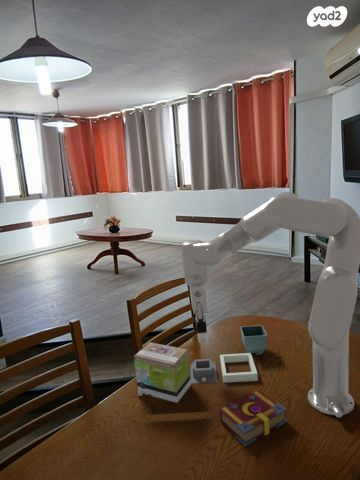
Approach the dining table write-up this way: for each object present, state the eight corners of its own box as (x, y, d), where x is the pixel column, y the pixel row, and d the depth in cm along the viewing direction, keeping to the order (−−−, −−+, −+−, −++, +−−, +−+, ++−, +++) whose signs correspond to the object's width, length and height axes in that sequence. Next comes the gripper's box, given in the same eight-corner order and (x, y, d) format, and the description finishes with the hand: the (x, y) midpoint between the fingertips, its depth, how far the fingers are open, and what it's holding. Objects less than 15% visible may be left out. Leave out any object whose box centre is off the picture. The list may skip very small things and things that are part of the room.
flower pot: (268, 357, 131) (267, 335, 129) (244, 359, 131) (243, 336, 129) (263, 346, 139) (262, 324, 138) (241, 347, 140) (239, 326, 138)
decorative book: (219, 422, 100) (218, 407, 99) (261, 400, 108) (260, 386, 107) (245, 447, 90) (244, 430, 89) (290, 421, 98) (289, 405, 97)
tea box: (137, 396, 114) (132, 355, 112) (153, 379, 123) (149, 340, 120) (178, 407, 107) (173, 363, 104) (192, 388, 116) (188, 347, 113)
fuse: (208, 343, 118) (205, 318, 116) (198, 344, 118) (195, 319, 116) (208, 338, 121) (205, 314, 120) (198, 339, 121) (195, 315, 120)
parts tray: (258, 384, 115) (257, 373, 114) (223, 386, 116) (223, 375, 115) (251, 362, 128) (250, 352, 127) (220, 364, 129) (219, 354, 128)
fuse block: (217, 385, 116) (217, 373, 115) (190, 387, 117) (189, 375, 116) (215, 366, 128) (214, 354, 127) (190, 367, 128) (189, 356, 128)
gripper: (208, 284, 107) (214, 340, 110) (206, 270, 123) (211, 319, 127) (184, 286, 108) (190, 342, 111) (185, 272, 124) (191, 321, 127)
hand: (201, 329), depth 119 cm, fingers closed on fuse, 3 cm apart
